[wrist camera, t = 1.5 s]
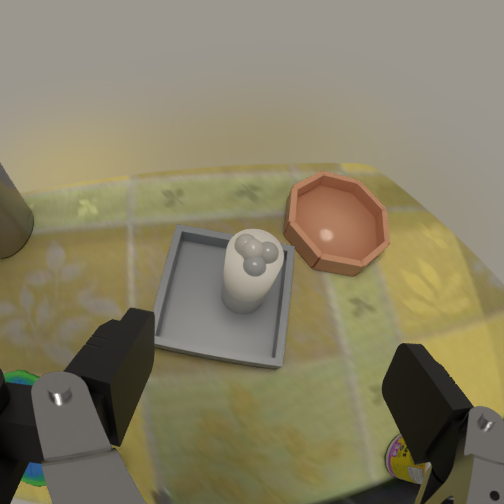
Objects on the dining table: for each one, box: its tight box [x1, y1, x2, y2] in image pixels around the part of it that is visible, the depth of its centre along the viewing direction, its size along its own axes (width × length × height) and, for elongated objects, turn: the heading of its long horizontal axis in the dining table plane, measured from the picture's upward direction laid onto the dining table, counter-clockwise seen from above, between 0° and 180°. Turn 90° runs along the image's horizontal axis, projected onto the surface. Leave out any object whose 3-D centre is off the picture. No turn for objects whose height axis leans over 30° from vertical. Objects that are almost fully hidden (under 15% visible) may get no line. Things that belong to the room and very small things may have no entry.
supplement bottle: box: [386, 434, 431, 484], centre depth 24 cm, size 7×7×13 cm
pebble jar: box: [221, 229, 284, 314], centre depth 31 cm, size 5×5×11 cm
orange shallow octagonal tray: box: [284, 171, 390, 276], centre depth 42 cm, size 14×14×3 cm
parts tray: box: [153, 224, 295, 369], centre depth 35 cm, size 14×14×3 cm
